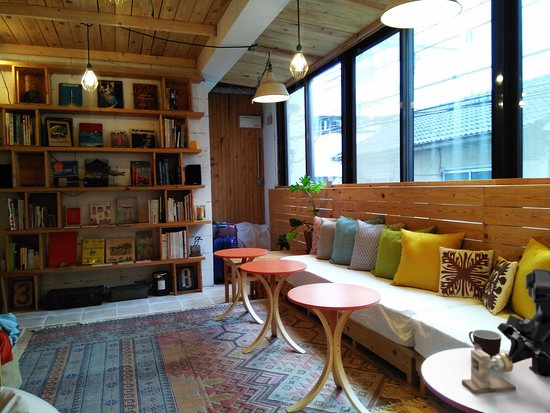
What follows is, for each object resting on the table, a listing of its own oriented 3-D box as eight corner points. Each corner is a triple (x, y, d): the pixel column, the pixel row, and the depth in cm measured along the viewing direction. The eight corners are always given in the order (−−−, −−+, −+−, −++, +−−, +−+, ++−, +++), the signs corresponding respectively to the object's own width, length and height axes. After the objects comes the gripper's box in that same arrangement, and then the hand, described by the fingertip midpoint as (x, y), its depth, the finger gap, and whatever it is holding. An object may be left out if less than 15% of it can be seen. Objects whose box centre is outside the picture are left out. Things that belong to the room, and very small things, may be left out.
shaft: (500, 367, 117) (500, 350, 116) (513, 375, 111) (513, 357, 111) (473, 369, 116) (473, 352, 116) (484, 377, 111) (484, 359, 110)
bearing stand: (502, 380, 117) (501, 347, 117) (516, 390, 111) (516, 355, 111) (461, 383, 116) (461, 349, 116) (474, 394, 110) (473, 358, 110)
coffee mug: (505, 370, 124) (505, 339, 124) (477, 368, 126) (477, 338, 125) (493, 355, 135) (493, 327, 135) (466, 353, 137) (466, 326, 137)
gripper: (502, 297, 123) (470, 333, 122) (551, 316, 104) (513, 359, 103) (524, 320, 124) (493, 356, 123) (576, 342, 106) (540, 385, 105)
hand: (508, 363), depth 114 cm, fingers closed
